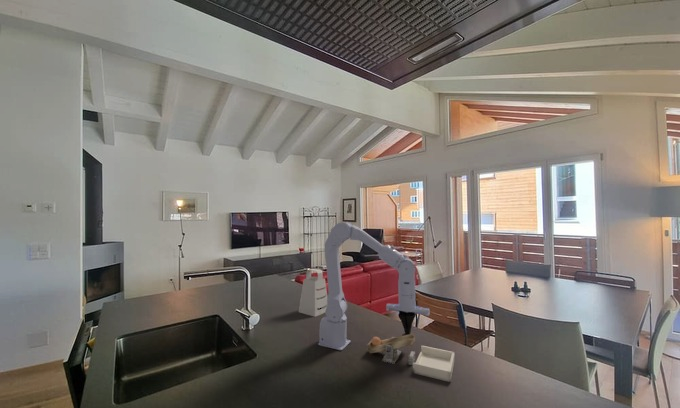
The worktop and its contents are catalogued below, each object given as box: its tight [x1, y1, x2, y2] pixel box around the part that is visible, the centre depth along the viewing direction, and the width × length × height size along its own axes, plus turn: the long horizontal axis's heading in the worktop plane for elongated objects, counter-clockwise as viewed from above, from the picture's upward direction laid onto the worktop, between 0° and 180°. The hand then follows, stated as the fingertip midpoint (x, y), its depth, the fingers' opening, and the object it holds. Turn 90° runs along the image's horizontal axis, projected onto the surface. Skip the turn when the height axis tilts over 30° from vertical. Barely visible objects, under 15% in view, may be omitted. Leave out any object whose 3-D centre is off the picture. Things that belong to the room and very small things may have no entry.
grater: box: [298, 268, 328, 318], centre depth 140 cm, size 10×10×20 cm
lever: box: [366, 332, 416, 354], centre depth 98 cm, size 15×11×3 cm
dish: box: [412, 345, 456, 383], centre depth 89 cm, size 10×13×3 cm
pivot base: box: [381, 336, 416, 366], centre depth 94 cm, size 9×8×5 cm
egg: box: [370, 336, 382, 346], centre depth 97 cm, size 3×3×3 cm
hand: (407, 334), depth 99 cm, fingers closed, pressing on lever
